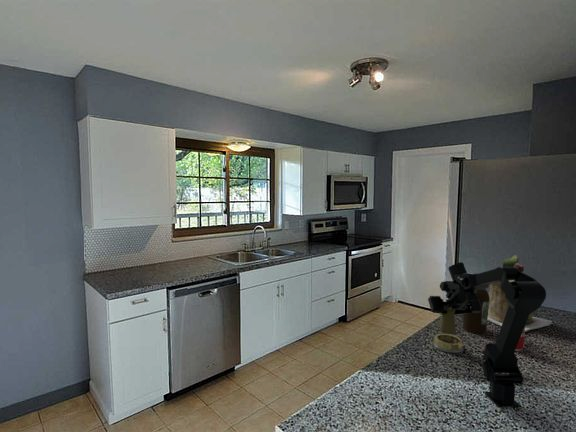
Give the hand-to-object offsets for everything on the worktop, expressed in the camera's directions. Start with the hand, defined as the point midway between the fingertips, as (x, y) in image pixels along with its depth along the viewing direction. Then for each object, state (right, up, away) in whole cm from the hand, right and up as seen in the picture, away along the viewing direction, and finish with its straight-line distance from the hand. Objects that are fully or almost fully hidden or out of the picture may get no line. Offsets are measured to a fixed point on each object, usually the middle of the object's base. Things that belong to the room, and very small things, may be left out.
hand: (446, 313), depth 133 cm
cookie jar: (+45, -12, +28) cm, 54 cm away
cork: (0, -7, -1) cm, 7 cm away
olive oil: (+21, -12, +17) cm, 29 cm away
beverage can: (+26, -14, -1) cm, 30 cm away
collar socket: (0, -13, 0) cm, 13 cm away
